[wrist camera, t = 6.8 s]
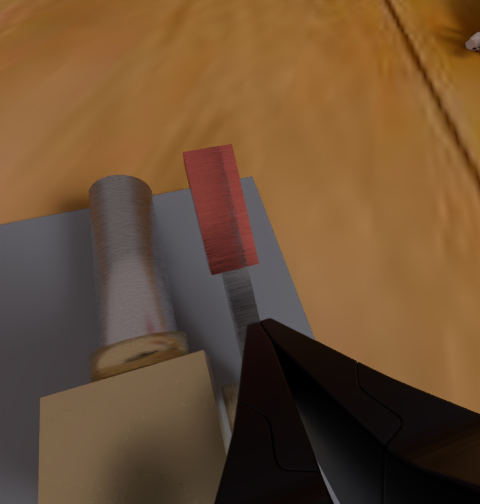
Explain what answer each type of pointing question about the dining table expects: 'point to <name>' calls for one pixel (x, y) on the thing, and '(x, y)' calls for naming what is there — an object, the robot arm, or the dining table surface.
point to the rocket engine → (473, 42)
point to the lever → (225, 239)
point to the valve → (133, 379)
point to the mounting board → (85, 317)
